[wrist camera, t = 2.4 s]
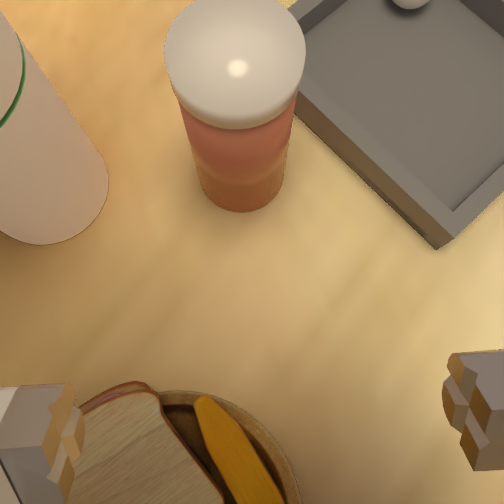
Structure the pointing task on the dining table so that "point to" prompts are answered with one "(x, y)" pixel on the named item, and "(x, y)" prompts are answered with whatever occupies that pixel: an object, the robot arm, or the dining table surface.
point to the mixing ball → (410, 3)
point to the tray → (410, 102)
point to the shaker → (237, 94)
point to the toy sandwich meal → (176, 452)
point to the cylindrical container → (42, 154)
